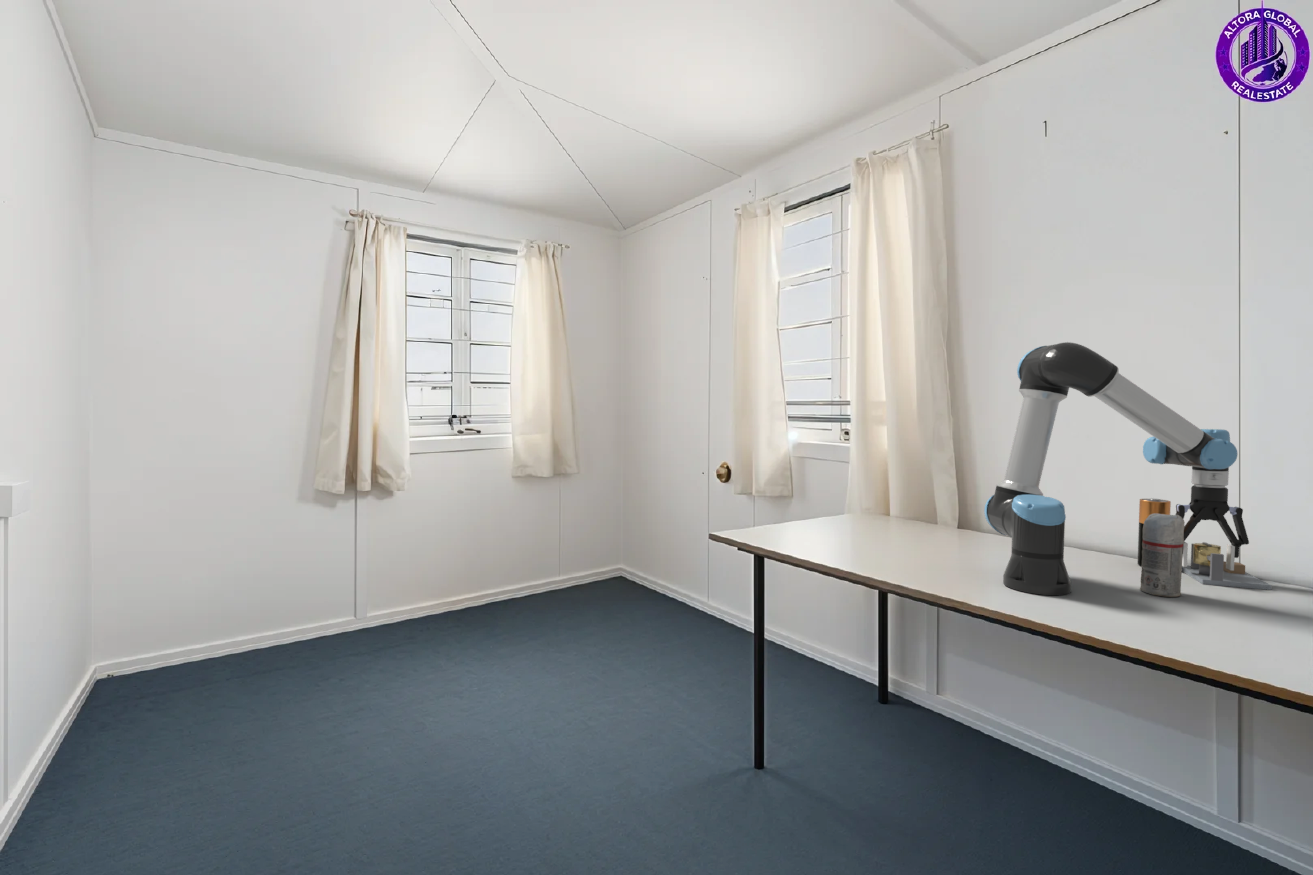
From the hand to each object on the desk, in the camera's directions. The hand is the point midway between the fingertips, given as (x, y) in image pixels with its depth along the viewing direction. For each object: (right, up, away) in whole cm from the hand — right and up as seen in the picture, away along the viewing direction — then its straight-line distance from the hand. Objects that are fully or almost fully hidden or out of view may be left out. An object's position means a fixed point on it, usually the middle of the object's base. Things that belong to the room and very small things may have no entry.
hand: (1206, 567), depth 171 cm
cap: (0, +1, 0) cm, 1 cm away
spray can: (-23, -4, -13) cm, 27 cm away
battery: (-4, -3, +13) cm, 14 cm away
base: (+4, -3, 0) cm, 5 cm away
